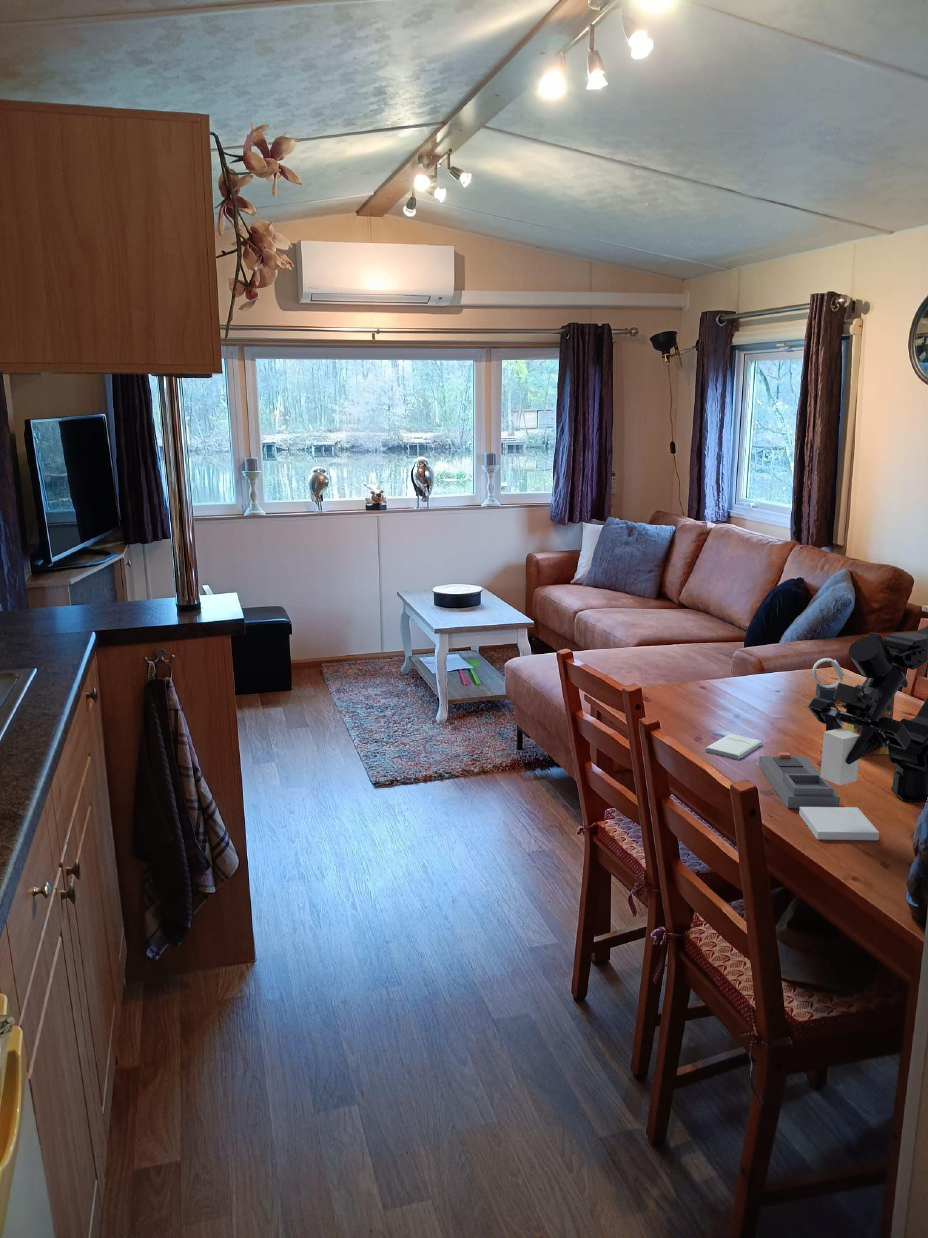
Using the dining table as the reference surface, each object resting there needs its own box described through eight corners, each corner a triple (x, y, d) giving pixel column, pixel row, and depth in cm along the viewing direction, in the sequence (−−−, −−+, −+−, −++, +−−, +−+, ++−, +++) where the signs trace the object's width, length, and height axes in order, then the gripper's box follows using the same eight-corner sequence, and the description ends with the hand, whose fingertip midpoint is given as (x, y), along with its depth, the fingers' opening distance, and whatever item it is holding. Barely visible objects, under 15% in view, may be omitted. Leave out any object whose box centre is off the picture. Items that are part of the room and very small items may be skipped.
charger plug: (837, 772, 177) (841, 727, 175) (856, 781, 173) (861, 735, 171) (820, 777, 175) (824, 731, 173) (839, 785, 171) (843, 739, 169)
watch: (843, 701, 249) (847, 662, 247) (812, 700, 251) (815, 661, 248) (839, 695, 255) (842, 656, 252) (808, 694, 256) (811, 655, 254)
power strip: (805, 767, 204) (806, 750, 203) (839, 809, 183) (840, 790, 182) (758, 766, 205) (759, 749, 204) (787, 808, 183) (789, 789, 182)
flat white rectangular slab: (856, 814, 180) (857, 807, 180) (878, 840, 169) (879, 832, 169) (799, 814, 181) (799, 806, 180) (817, 839, 170) (817, 831, 170)
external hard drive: (705, 753, 214) (729, 739, 223) (738, 762, 209) (761, 747, 218) (705, 747, 214) (729, 732, 223) (738, 755, 209) (762, 740, 218)
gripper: (817, 656, 179) (775, 721, 176) (907, 679, 163) (863, 750, 160) (840, 689, 185) (800, 752, 181) (929, 714, 169) (887, 783, 166)
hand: (835, 758), depth 172 cm, fingers closed on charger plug, 5 cm apart
